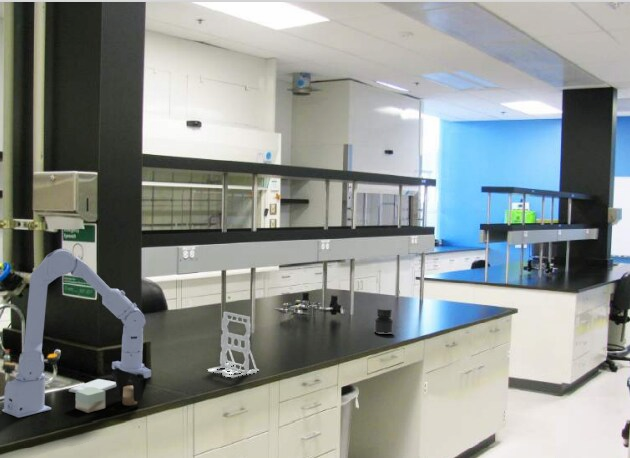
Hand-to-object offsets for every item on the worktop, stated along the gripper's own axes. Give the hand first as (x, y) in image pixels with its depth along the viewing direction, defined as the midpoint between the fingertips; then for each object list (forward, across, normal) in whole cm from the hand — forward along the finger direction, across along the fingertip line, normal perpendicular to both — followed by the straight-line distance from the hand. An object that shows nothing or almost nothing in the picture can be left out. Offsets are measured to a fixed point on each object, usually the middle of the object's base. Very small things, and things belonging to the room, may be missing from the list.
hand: (130, 398), depth 180 cm
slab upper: (-1, +4, +10) cm, 11 cm away
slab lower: (+2, +4, +10) cm, 11 cm away
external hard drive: (+2, +19, -2) cm, 19 cm away
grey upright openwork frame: (+2, +3, -47) cm, 47 cm away
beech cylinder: (+2, 0, 0) cm, 2 cm away
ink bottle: (+2, -1, -151) cm, 151 cm away
